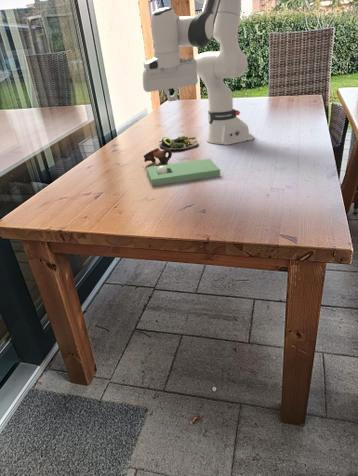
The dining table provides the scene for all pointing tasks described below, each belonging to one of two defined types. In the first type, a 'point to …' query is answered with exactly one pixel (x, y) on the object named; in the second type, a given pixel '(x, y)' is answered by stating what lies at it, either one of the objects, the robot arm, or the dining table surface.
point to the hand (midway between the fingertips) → (172, 100)
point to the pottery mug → (158, 156)
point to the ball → (162, 170)
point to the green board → (183, 172)
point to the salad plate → (177, 143)
